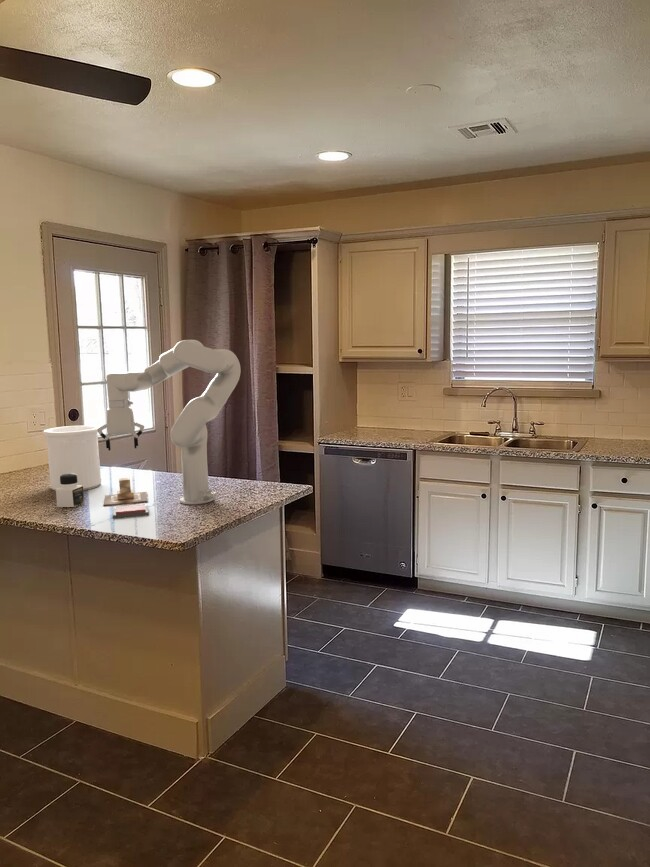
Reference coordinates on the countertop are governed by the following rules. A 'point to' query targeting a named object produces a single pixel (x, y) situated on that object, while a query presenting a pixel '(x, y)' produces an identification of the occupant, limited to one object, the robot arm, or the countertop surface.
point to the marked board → (113, 500)
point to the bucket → (74, 455)
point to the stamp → (125, 489)
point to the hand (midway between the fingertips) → (122, 448)
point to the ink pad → (130, 511)
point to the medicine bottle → (69, 491)
